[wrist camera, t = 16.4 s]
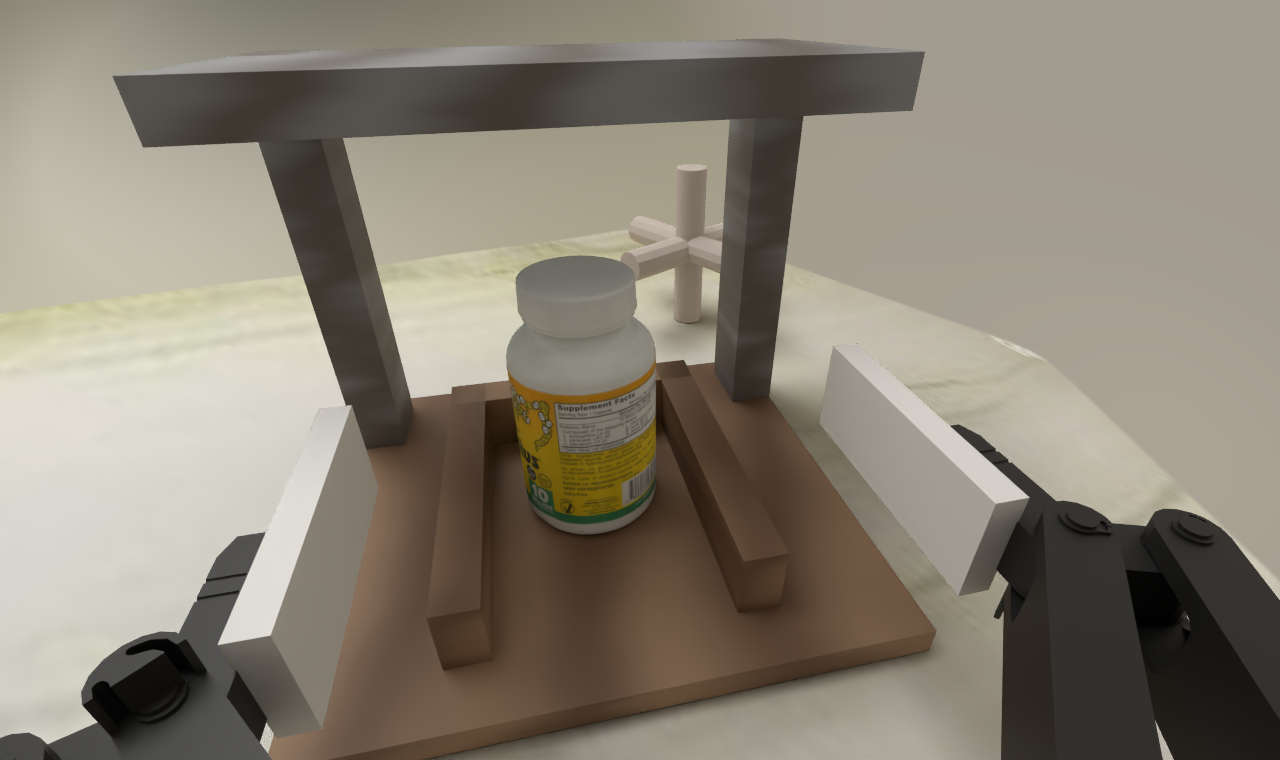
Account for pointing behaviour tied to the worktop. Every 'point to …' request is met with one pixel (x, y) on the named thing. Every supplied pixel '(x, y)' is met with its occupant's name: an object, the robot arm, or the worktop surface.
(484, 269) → the worktop surface
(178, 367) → the worktop surface
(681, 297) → the pipe connector
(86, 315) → the worktop surface
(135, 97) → the keeper holder
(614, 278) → the supplement bottle
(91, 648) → the worktop surface
